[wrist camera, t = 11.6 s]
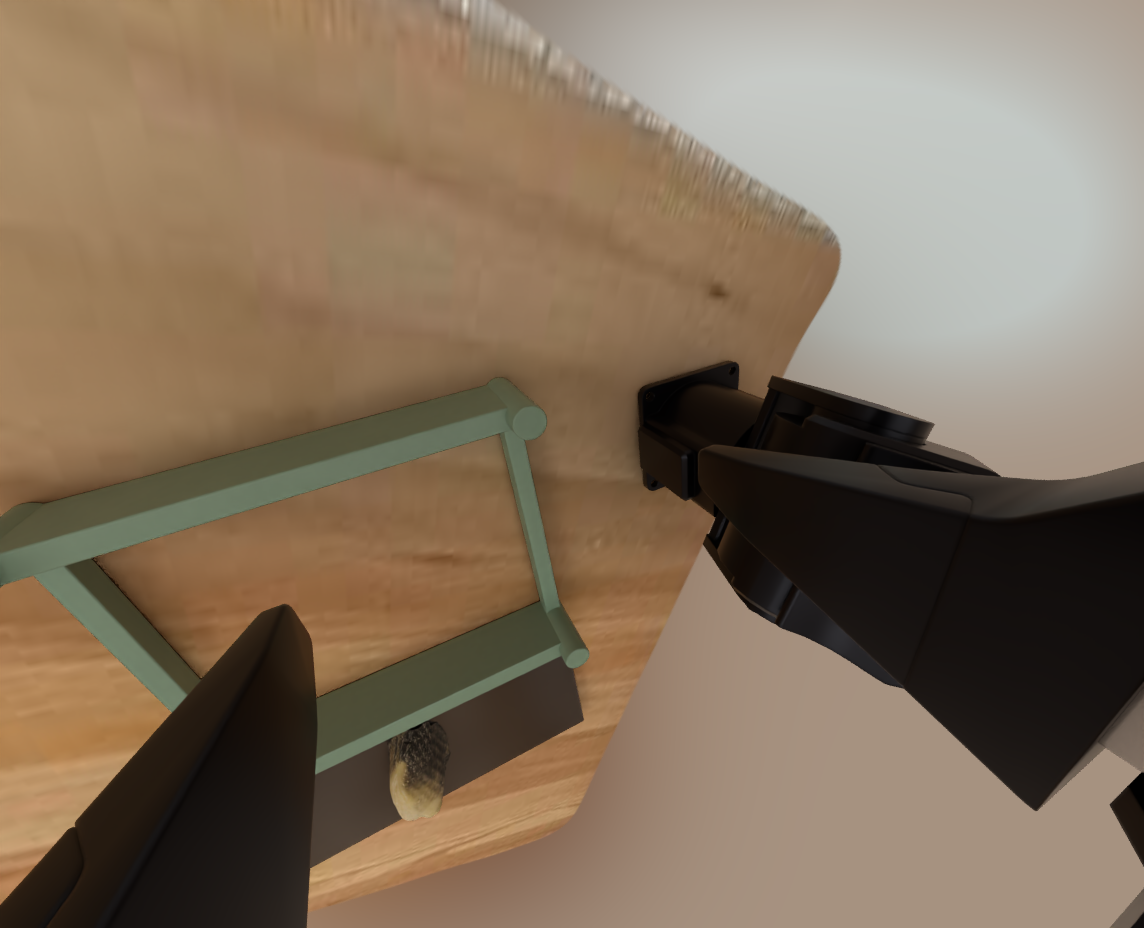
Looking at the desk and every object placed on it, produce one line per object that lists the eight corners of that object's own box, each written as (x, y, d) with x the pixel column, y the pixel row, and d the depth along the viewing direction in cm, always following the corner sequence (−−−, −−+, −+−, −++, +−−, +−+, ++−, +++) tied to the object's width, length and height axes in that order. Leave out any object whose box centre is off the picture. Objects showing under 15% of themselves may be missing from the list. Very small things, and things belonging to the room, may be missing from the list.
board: (560, 621, 28) (565, 630, 28) (579, 711, 33) (584, 720, 33) (160, 805, 22) (153, 822, 21) (257, 882, 27) (255, 898, 26)
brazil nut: (435, 797, 29) (447, 838, 26) (357, 807, 26) (361, 853, 23) (468, 705, 29) (483, 737, 26) (393, 705, 26) (402, 741, 24)
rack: (509, 373, 20) (544, 401, 16) (559, 606, 28) (591, 661, 24) (-5, 510, 15) (-125, 596, 11) (232, 752, 22) (207, 852, 19)
